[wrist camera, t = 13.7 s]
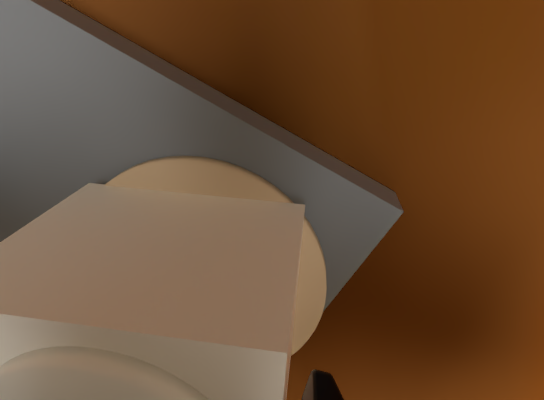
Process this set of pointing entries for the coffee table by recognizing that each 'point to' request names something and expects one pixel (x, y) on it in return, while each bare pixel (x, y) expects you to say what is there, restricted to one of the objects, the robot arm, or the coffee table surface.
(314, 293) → the board
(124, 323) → the beige cube
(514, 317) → the coffee table surface
